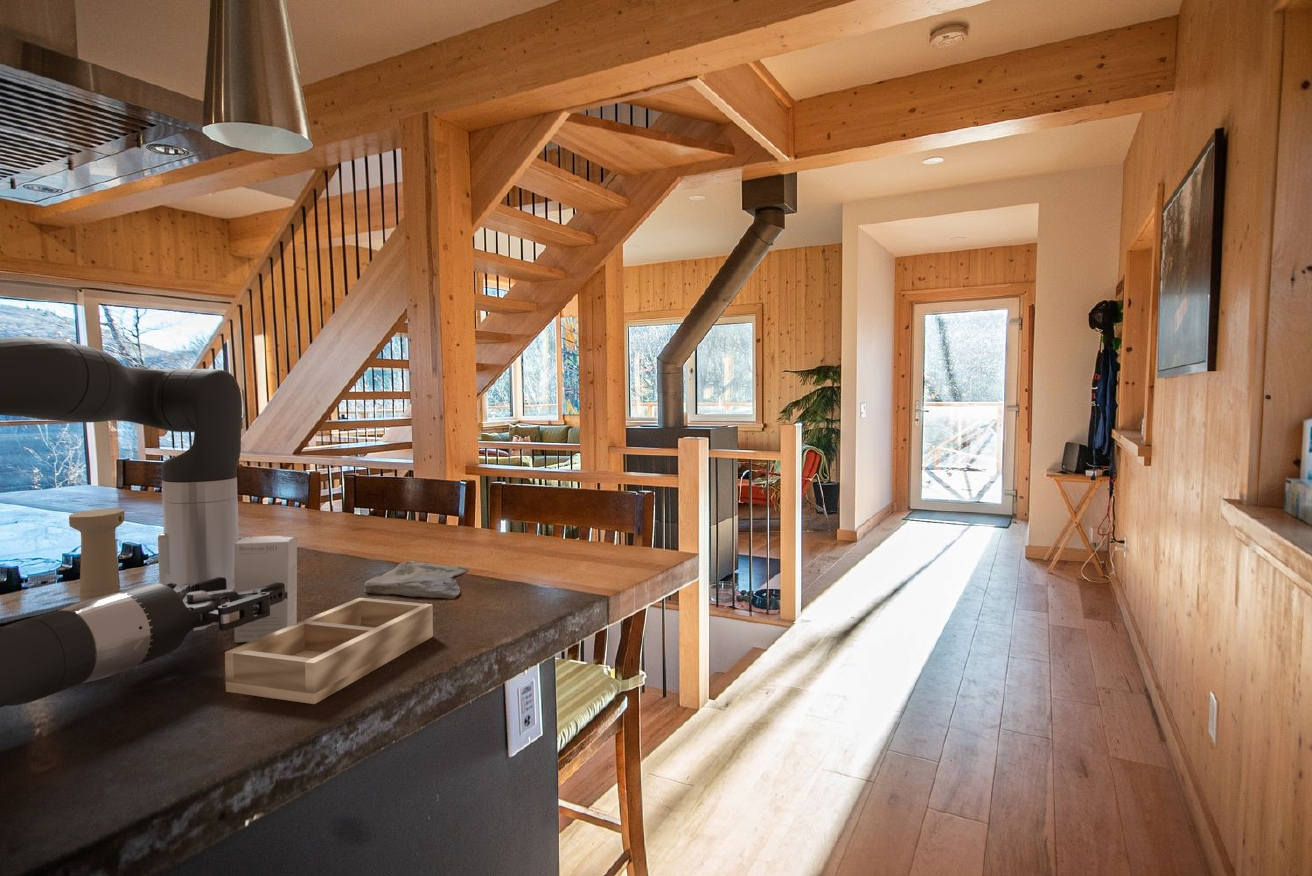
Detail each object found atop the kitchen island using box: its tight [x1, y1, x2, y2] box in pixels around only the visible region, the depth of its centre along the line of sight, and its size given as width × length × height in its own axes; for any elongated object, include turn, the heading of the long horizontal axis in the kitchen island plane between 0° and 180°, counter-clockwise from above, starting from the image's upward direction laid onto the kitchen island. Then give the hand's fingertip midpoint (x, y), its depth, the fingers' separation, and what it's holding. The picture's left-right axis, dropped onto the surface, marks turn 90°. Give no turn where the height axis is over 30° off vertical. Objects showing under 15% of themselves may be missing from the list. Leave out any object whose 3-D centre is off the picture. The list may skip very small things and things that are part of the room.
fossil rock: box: [363, 560, 470, 600], centre depth 112 cm, size 18×15×2 cm
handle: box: [68, 508, 125, 602], centre depth 86 cm, size 5×6×15 cm
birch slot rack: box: [224, 597, 434, 705], centre depth 78 cm, size 20×10×4 cm, turn 165°
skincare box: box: [233, 535, 298, 644], centre depth 86 cm, size 6×4×12 cm
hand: (252, 588), depth 84 cm, fingers open, 8 cm apart
